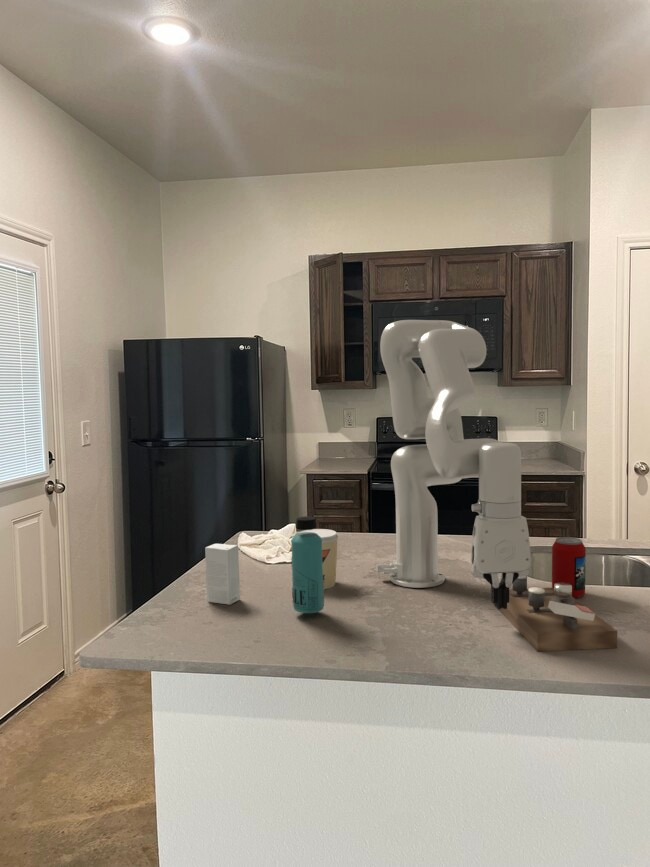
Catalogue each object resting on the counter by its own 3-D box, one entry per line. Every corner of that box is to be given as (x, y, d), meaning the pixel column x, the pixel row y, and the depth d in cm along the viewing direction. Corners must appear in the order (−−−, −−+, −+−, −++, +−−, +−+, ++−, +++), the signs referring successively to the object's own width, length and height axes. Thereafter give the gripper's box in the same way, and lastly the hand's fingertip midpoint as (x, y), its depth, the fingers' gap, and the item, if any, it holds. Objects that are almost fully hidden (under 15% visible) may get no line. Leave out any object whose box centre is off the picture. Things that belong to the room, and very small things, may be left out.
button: (558, 598, 128) (558, 587, 127) (551, 592, 131) (551, 582, 131) (574, 597, 128) (574, 587, 128) (567, 592, 131) (567, 582, 131)
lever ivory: (531, 611, 123) (531, 592, 123) (526, 606, 126) (526, 587, 126) (547, 611, 123) (547, 591, 123) (541, 606, 126) (541, 587, 126)
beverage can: (587, 600, 138) (588, 544, 138) (554, 599, 140) (554, 543, 139) (582, 590, 145) (582, 536, 144) (549, 589, 146) (550, 535, 145)
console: (537, 651, 114) (537, 624, 113) (493, 604, 138) (493, 581, 137) (617, 647, 114) (617, 620, 114) (560, 601, 138) (560, 578, 138)
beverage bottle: (329, 611, 135) (327, 514, 134) (318, 622, 129) (315, 521, 128) (299, 608, 138) (297, 513, 136) (287, 619, 131) (284, 519, 130)
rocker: (555, 613, 115) (557, 605, 115) (547, 607, 118) (549, 599, 118) (593, 620, 115) (595, 613, 115) (585, 614, 118) (587, 606, 118)
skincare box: (240, 599, 144) (239, 545, 143) (230, 605, 140) (228, 549, 139) (217, 596, 147) (215, 542, 146) (206, 602, 143) (204, 547, 142)
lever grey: (515, 596, 132) (515, 578, 132) (510, 591, 135) (510, 573, 135) (529, 595, 132) (529, 577, 132) (524, 591, 135) (524, 573, 135)
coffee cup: (291, 588, 151) (290, 536, 150) (308, 576, 160) (307, 527, 159) (330, 592, 147) (328, 539, 146) (344, 580, 156) (343, 530, 155)
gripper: (465, 515, 118) (466, 615, 120) (547, 512, 119) (547, 611, 121) (454, 507, 126) (455, 601, 127) (532, 504, 127) (531, 598, 128)
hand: (500, 606), depth 124 cm, fingers closed
